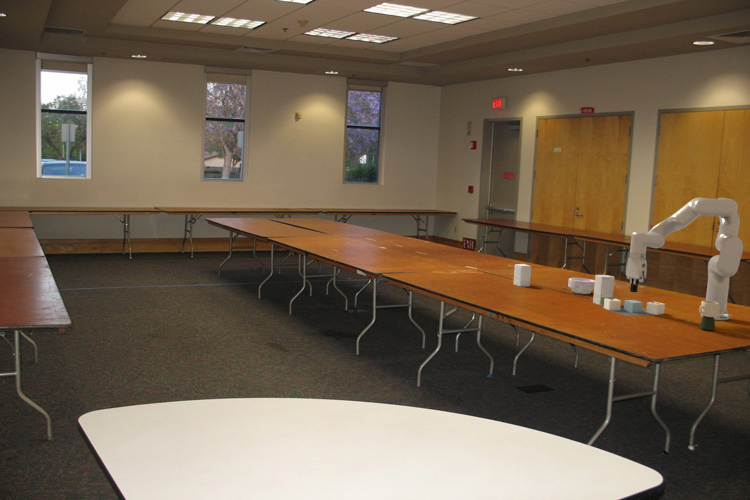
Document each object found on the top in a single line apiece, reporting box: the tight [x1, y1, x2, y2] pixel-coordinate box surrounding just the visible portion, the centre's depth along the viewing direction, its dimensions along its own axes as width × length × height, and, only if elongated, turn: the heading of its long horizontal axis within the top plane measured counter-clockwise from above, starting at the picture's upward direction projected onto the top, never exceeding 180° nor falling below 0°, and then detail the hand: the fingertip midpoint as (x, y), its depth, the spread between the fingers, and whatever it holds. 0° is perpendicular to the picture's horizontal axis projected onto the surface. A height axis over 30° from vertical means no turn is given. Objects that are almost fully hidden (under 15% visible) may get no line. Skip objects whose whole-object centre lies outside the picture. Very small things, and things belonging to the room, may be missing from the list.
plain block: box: [623, 299, 643, 313], centre depth 336 cm, size 6×6×5 cm
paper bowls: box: [567, 277, 595, 295], centre depth 384 cm, size 15×15×8 cm
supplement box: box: [513, 263, 532, 287], centre depth 400 cm, size 7×7×13 cm
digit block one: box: [645, 301, 666, 315], centre depth 334 cm, size 6×6×5 cm
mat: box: [602, 306, 656, 317], centre depth 337 cm, size 18×24×1 cm
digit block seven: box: [603, 297, 622, 311], centre depth 339 cm, size 6×6×5 cm
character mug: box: [698, 300, 720, 331], centre depth 303 cm, size 11×7×13 cm, turn 106°
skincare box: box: [592, 274, 615, 306], centre depth 352 cm, size 8×7×16 cm
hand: (633, 291), depth 335 cm, fingers closed
